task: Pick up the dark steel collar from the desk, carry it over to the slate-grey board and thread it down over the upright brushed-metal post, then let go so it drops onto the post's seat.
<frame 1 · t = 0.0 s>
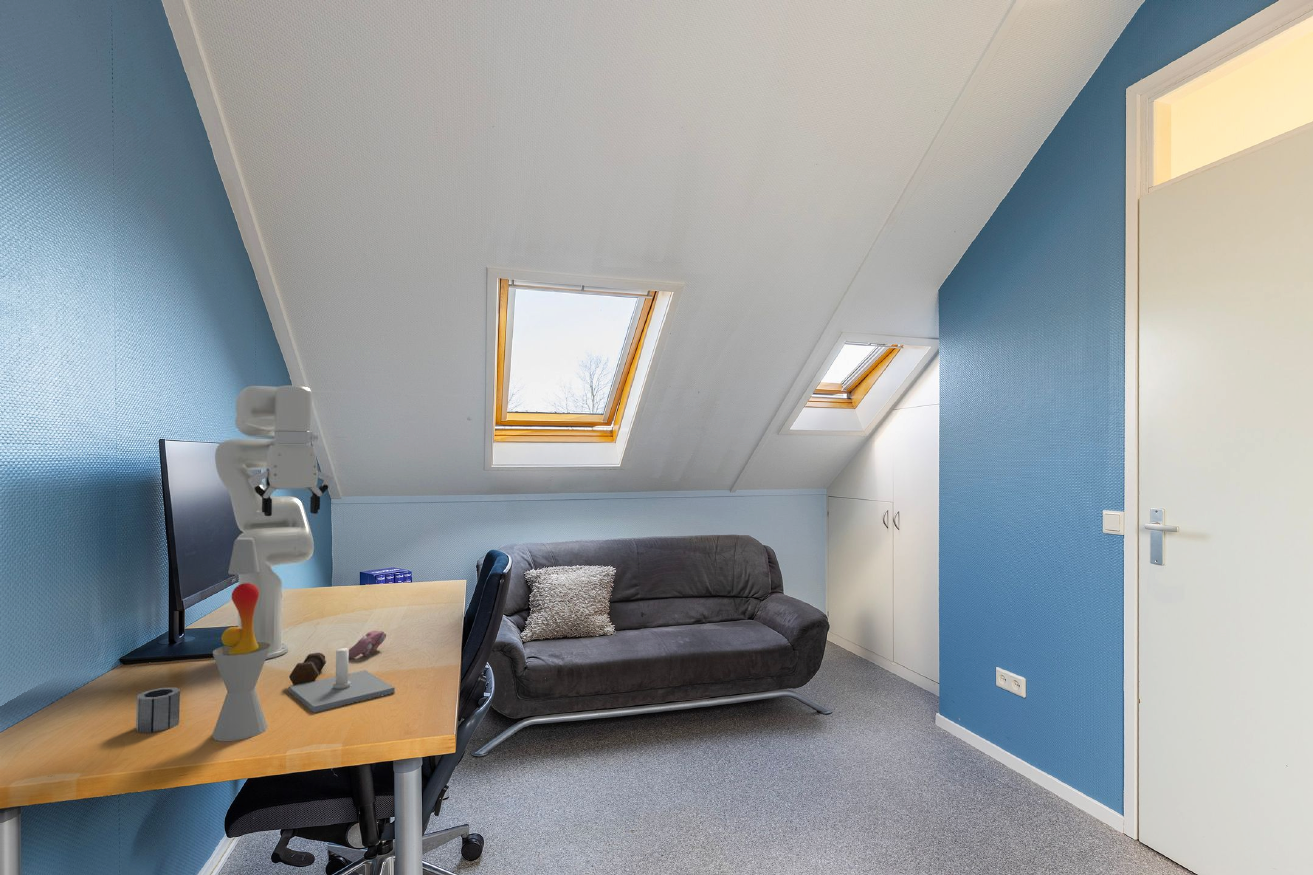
hand: (291, 514, 155), 37 cm above the table, tool pointing down, fingers open, 9 cm apart
collar: (157, 725, 125), on the table
lava lamp: (240, 732, 123), on the table
bolt: (311, 677, 154), on the table
video game controller: (367, 654, 172), on the table
post stand: (341, 692, 143), on the table
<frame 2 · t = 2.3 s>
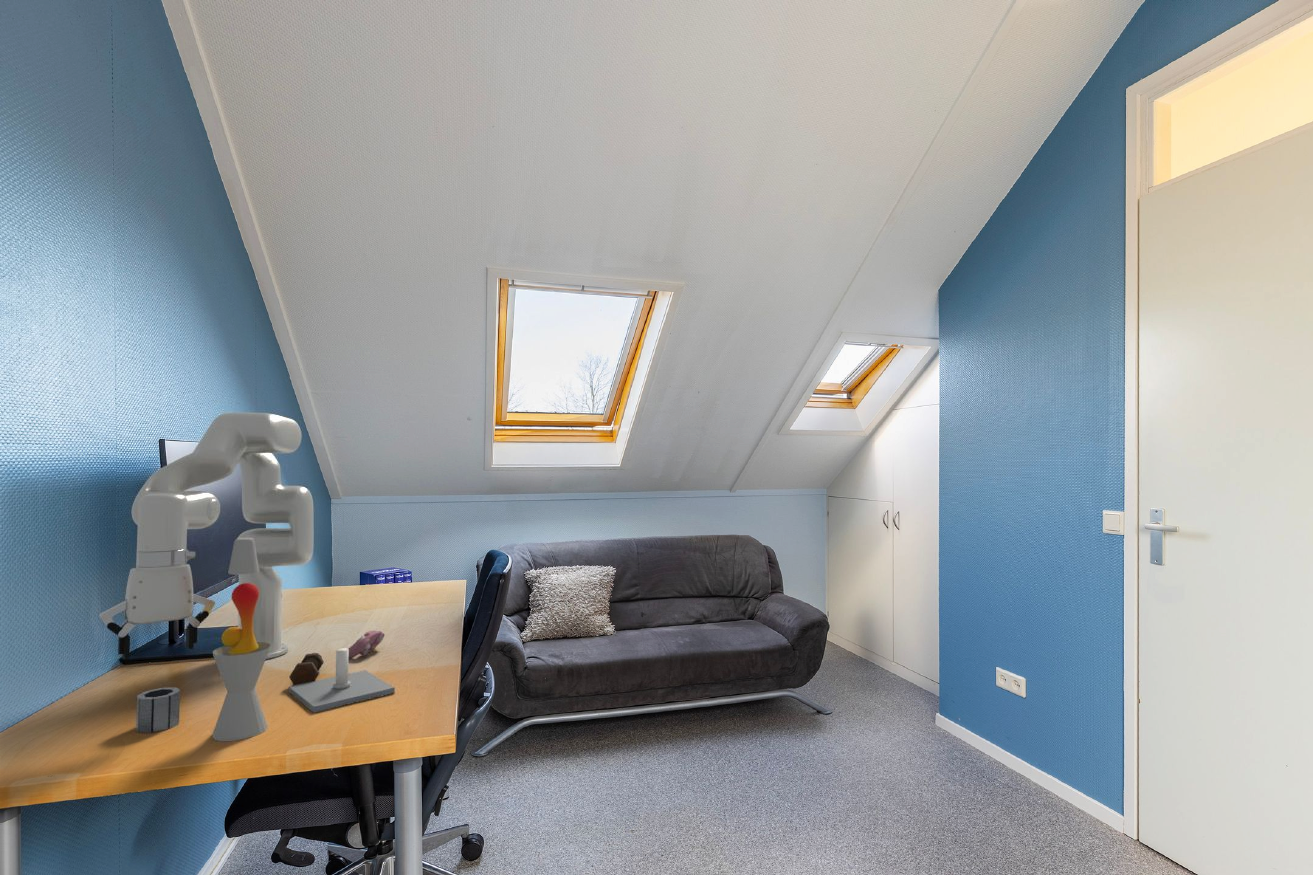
hand: (158, 652, 125), 14 cm above the table, tool pointing down, fingers open, 9 cm apart
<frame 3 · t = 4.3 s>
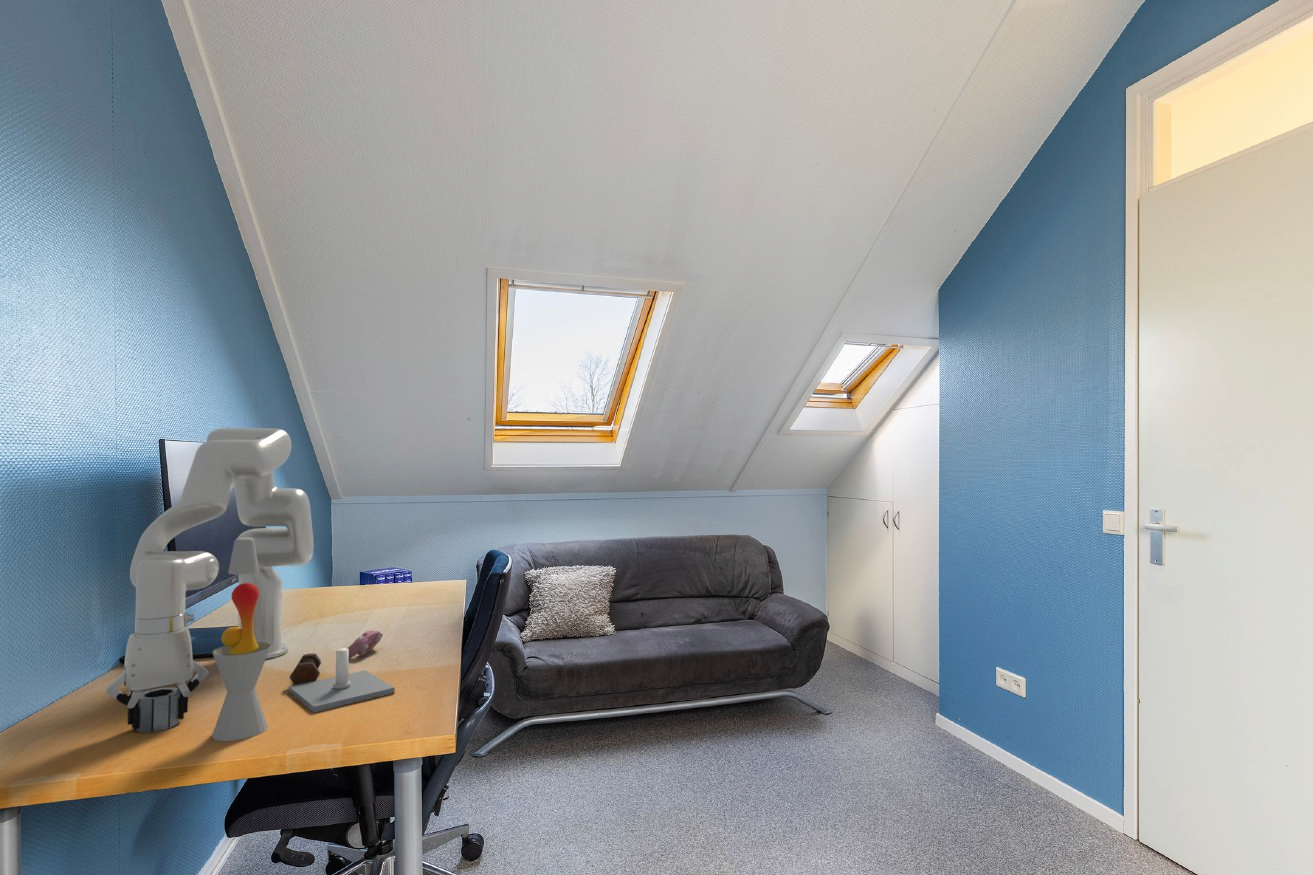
hand: (157, 721, 125), 1 cm above the table, tool pointing down, fingers closed on collar, 6 cm apart
collar: (157, 725, 125), on the table, touching gripper
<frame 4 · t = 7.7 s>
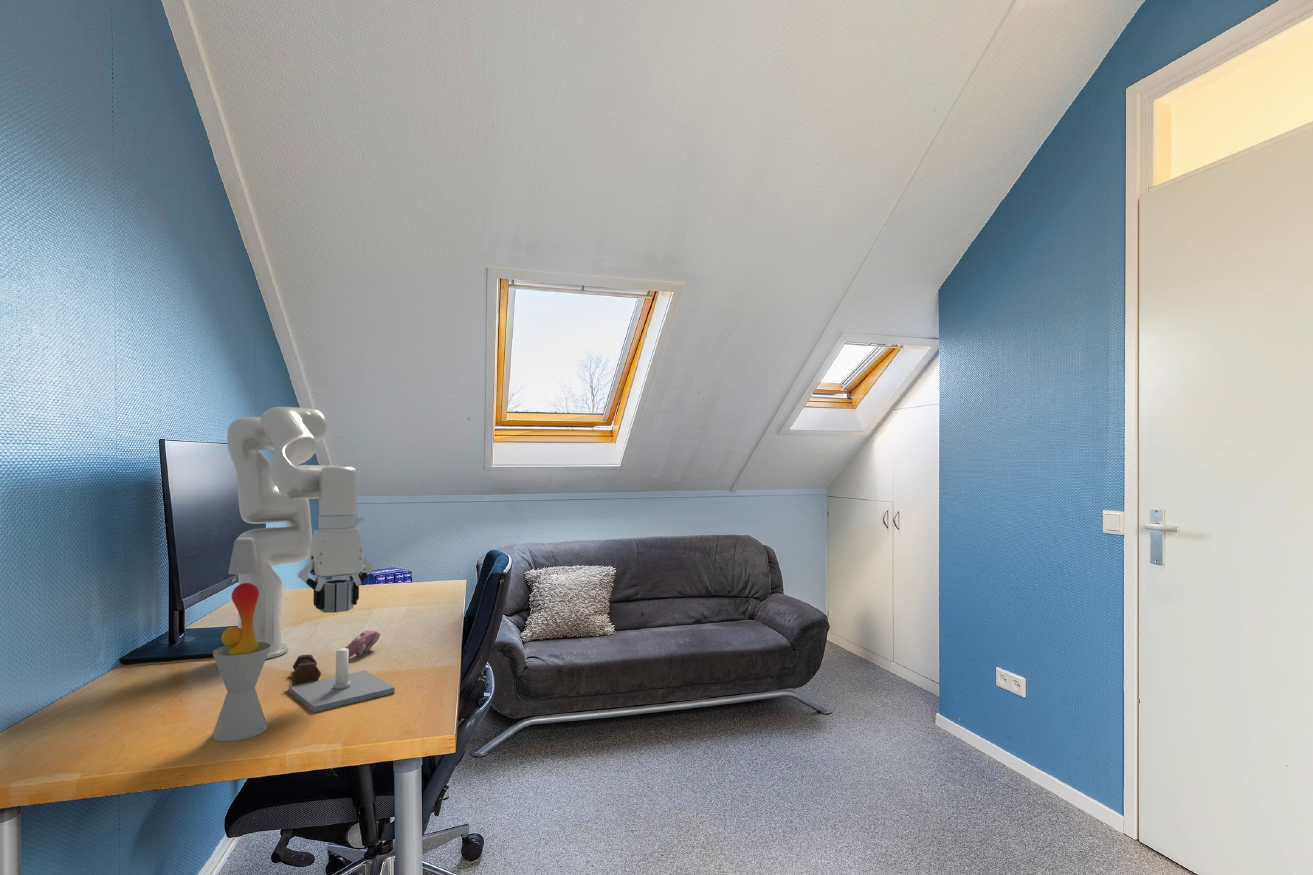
hand: (336, 605, 147), 18 cm above the table, tool pointing down, fingers closed on collar, 6 cm apart
collar: (336, 609, 147), point 17 cm above the table, touching gripper
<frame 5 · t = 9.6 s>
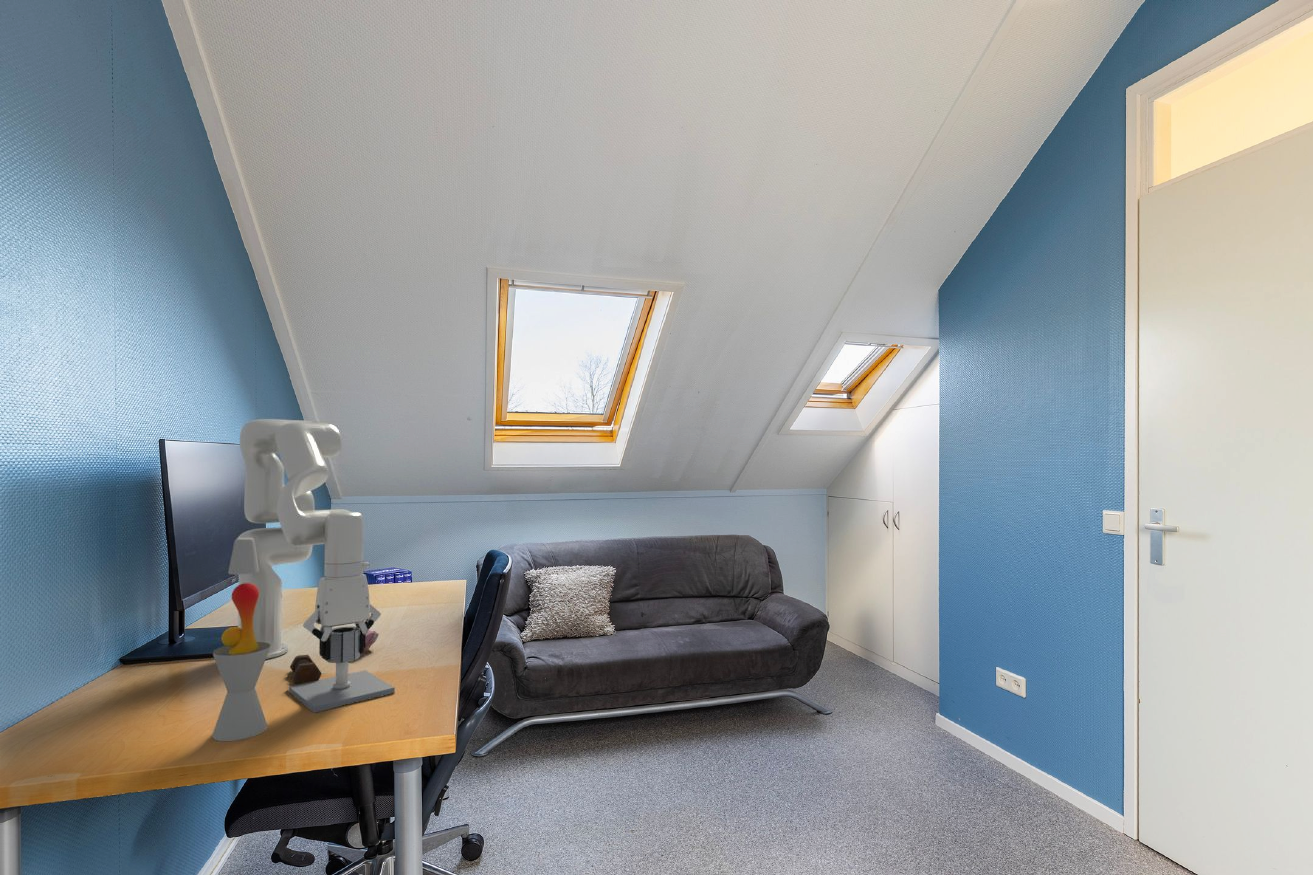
hand: (342, 654, 144), 8 cm above the table, tool pointing down, fingers closed on collar, 6 cm apart
collar: (342, 658, 143), point 7 cm above the table, touching gripper
when the fingers open (4 cm above the table, at t = 11.3 s): collar drops 2 cm, resting on post stand.
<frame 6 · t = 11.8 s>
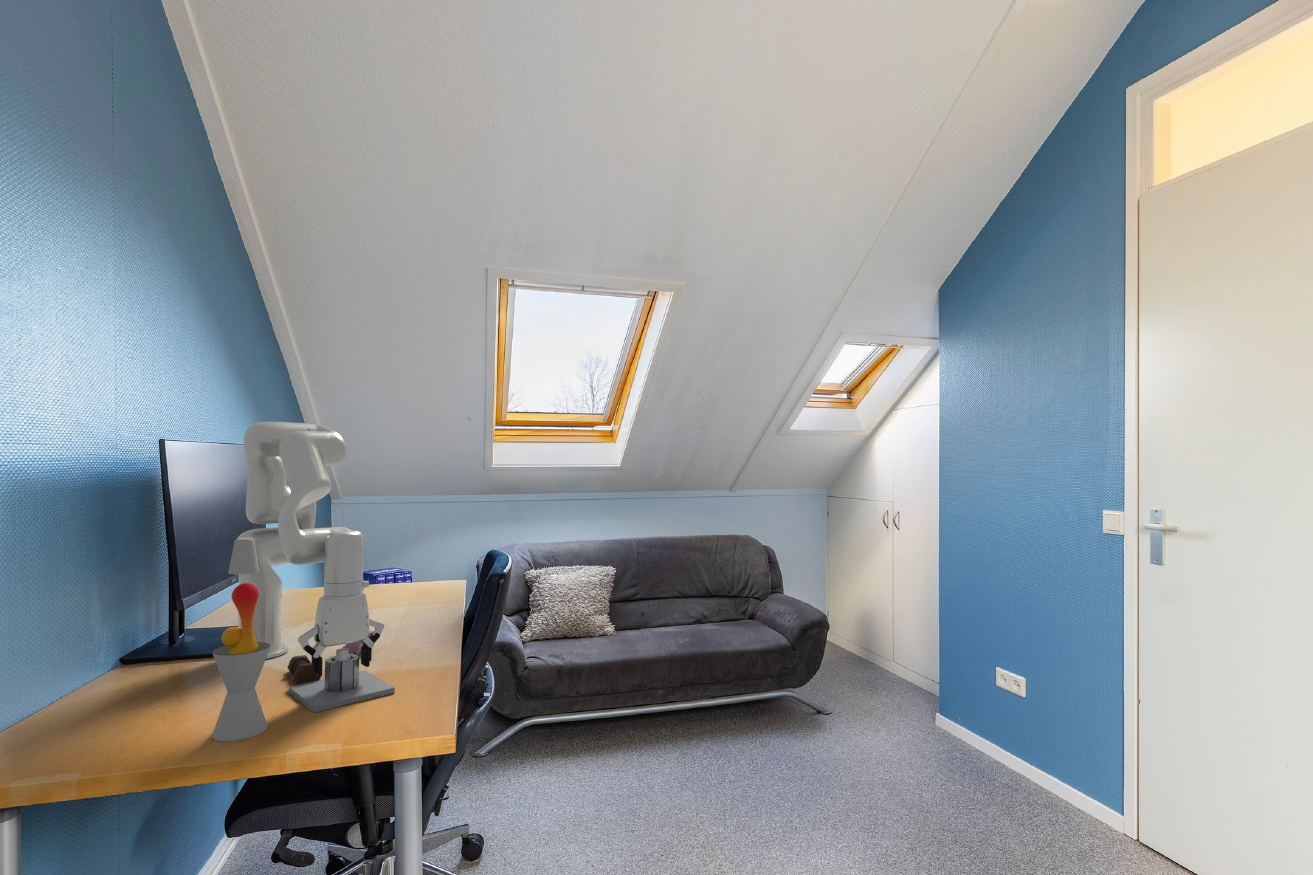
hand: (342, 670, 144), 5 cm above the table, tool pointing down, fingers open, 9 cm apart
collar: (341, 686, 143), point 1 cm above the table, touching post stand
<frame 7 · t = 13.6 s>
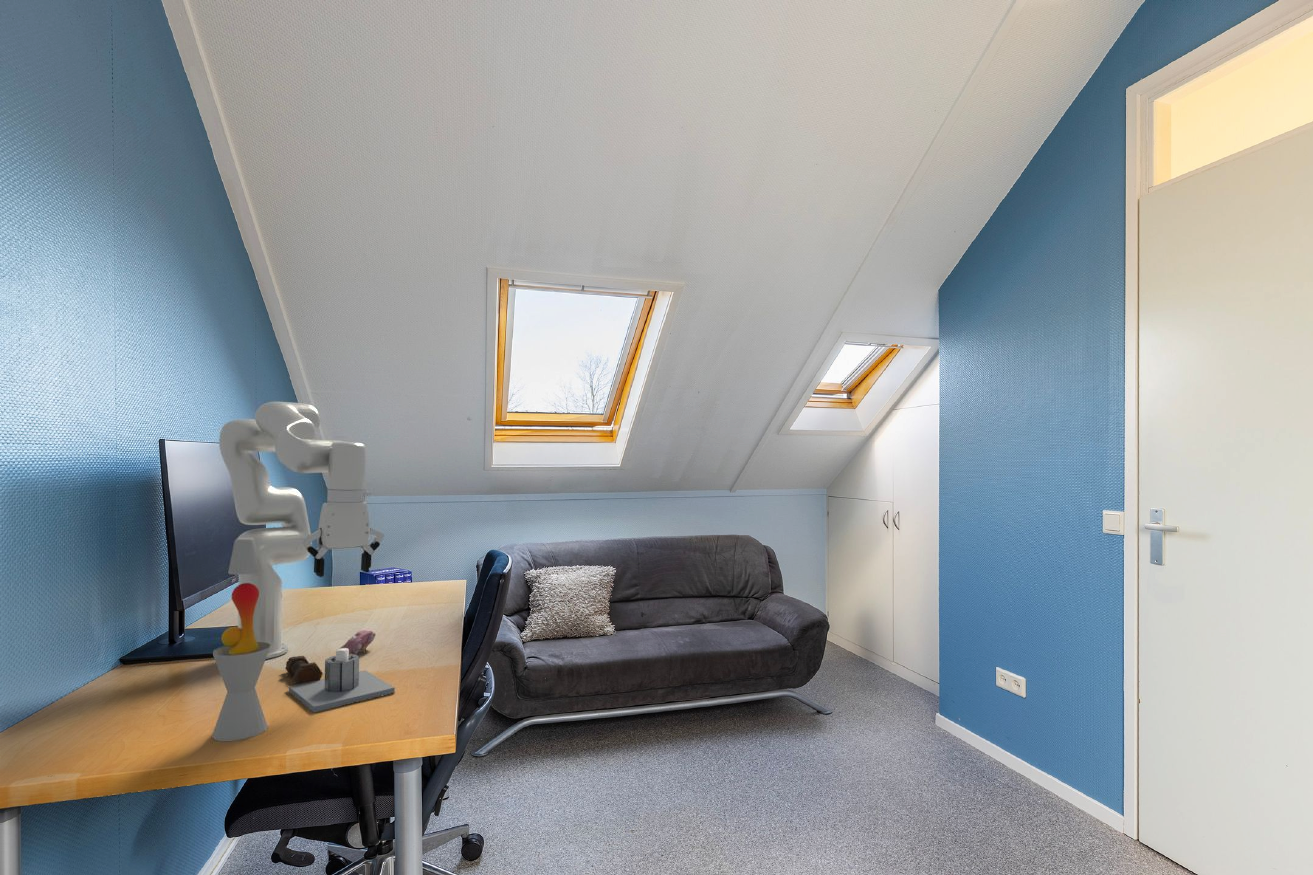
hand: (342, 573, 151), 24 cm above the table, tool pointing down, fingers open, 9 cm apart
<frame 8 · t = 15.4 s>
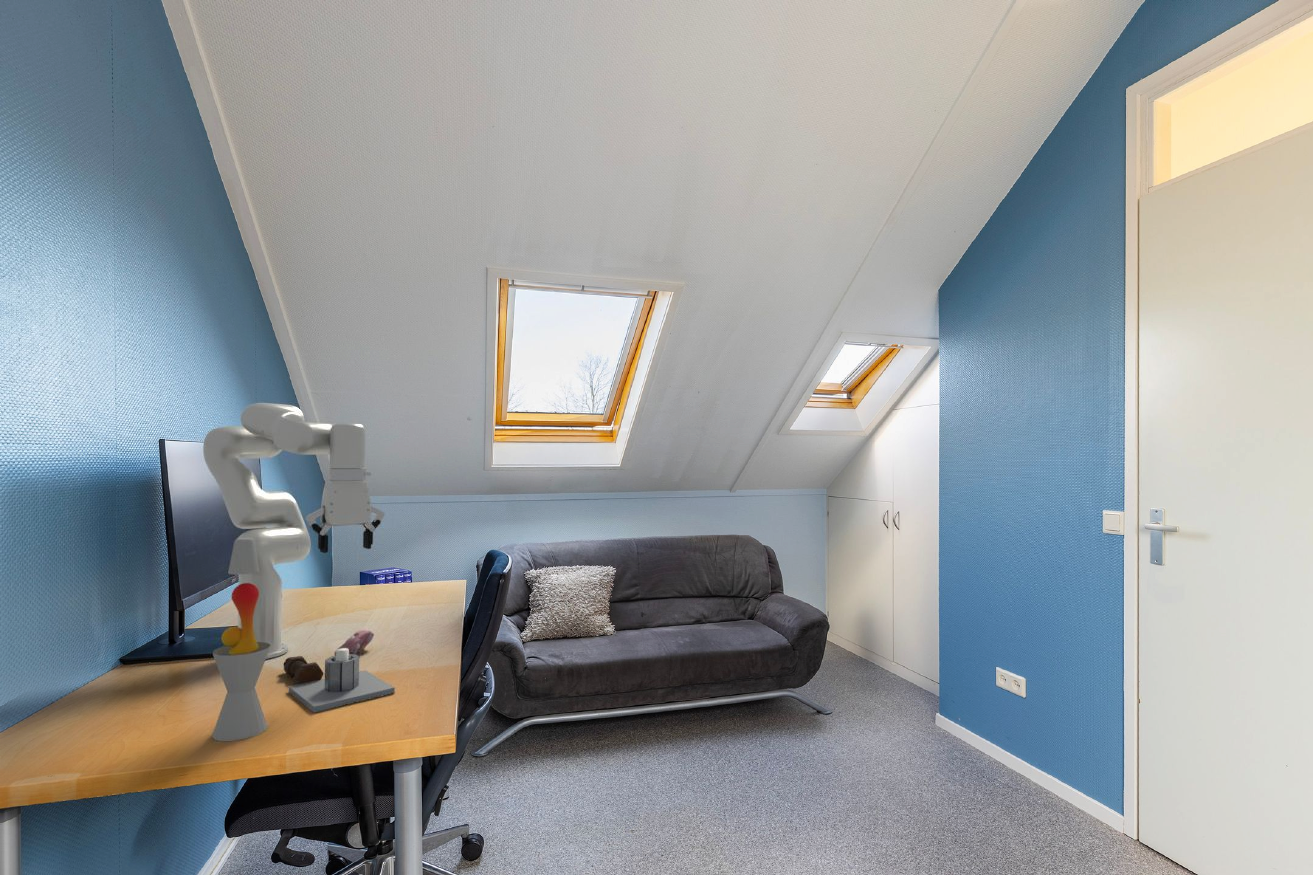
hand: (345, 550, 157), 28 cm above the table, tool pointing down, fingers open, 9 cm apart
at the end: collar 0.0 cm off-centre on the post stand, point 1.2 cm above the post stand's base; collar tilted 0°; the gripper is holding nothing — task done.
